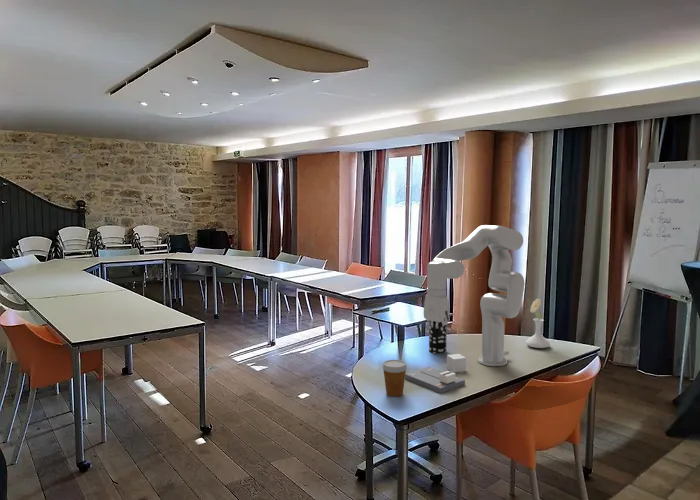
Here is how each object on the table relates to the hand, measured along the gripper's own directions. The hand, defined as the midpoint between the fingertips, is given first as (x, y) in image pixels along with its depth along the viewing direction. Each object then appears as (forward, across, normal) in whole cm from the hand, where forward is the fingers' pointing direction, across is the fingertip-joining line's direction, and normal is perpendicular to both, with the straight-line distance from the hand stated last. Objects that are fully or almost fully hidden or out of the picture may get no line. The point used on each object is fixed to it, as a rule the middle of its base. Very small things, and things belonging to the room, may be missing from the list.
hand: (436, 337), depth 203 cm
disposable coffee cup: (+19, -2, -21) cm, 29 cm away
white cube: (+19, -5, +18) cm, 27 cm away
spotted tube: (+19, -28, +31) cm, 46 cm away
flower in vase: (+20, -1, +74) cm, 76 cm away
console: (+19, -1, 0) cm, 19 cm away
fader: (+17, +6, 0) cm, 18 cm away
